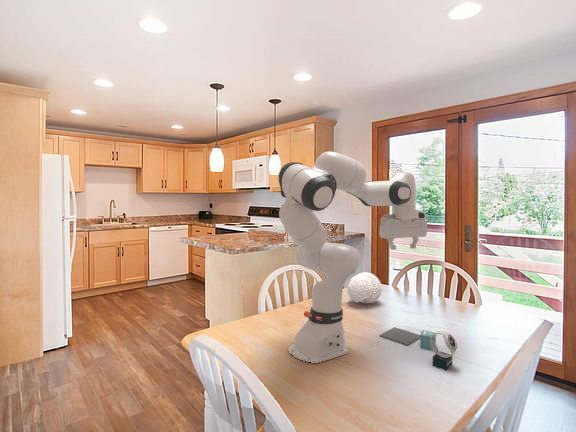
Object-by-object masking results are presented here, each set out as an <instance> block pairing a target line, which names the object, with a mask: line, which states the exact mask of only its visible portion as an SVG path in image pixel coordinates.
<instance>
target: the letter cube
mask: <svg viewBox="0 0 576 432" xmlns="http://www.w3.org/2000/svg"><path fill="white" fill-rule="evenodd" d="M434 333H436V332H434V331H428V330H421V332H420V334H419V335H420V339H419V347H420V349H423V350H429V351H433V349H432V347H431V344H430V338H431V336H432V335H433V334H434ZM436 339H437V334H435V335H434V340H435V343H437V342H436V341H437V340H436Z"/></svg>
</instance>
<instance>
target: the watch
mask: <svg viewBox="0 0 576 432" xmlns="http://www.w3.org/2000/svg"><path fill="white" fill-rule="evenodd" d="M435 334H436V335H442V337H443V339H444V342H445V346H446V348H447V349H448V350H449V351H450V353H451V354H449V353H446V352H443V351H440V349H439V347H438V345H437V344H436V343H437V342H436V343H435V340H434V335H435ZM430 344H431V347H432V349H433V350H432V351H433V352H434V353H435V354H434V355H433V356H432V366H433V367H435V368H438V369H440V368H442V369H441V370H443V369H444V371H447V370H448V369H449V368H450V367H452V366H453V357H454V354H455V353H456V351H457V349H458V345H457V341H456V339H455V338H454V336H453V335H452V334H450V333H448V332H446V331H444V330H443V331H442V330H441V331H436V332H435V333H434V334H433V335H432V336H431V338H430Z"/></svg>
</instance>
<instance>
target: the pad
mask: <svg viewBox="0 0 576 432" xmlns="http://www.w3.org/2000/svg"><path fill="white" fill-rule="evenodd" d="M420 335H421V334H417V333H414V332H411V331H408V330H405V329H401V328H398V327H392V328H390V329H388V330H386V331H384V332H382V333H381V334H379V335H378V337H381V338H383V339H387V340H389V341H392V342H395V343H398V344H401V345H403V346H407V347H408V346H410V345H411V344H413V343H415V342H416V341H418V340H420Z"/></svg>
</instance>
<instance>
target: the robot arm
mask: <svg viewBox="0 0 576 432" xmlns="http://www.w3.org/2000/svg"><path fill="white" fill-rule="evenodd" d="M393 174H394V175H393V177H392V178H391V179H388V180H378V181H377V180H376V181H372V180H371V181H368V180H367V170H366V168H365V166H364V165H363V164H362V162H360V161H359V160H357V159H355V158H352V157H351V156H348V155H345V154H342V153H339V152H334V151H329V150H328V151H324V152H322V153H321V154H320V155H319V156H318V157H317V158H316V160H315V162H314V165H313V166H311V167H309V166H307V165H305V164H304V163H301V162H298V161H291V162H287V163H286V164H284V165H283V166H282V167H281V168H280V170H279V172H278V184H279V187H280V194H281V196H282V197H283V198H285V202H283V204H282V205H281V207H280V208H279V210H278V211H279V212H278V217H279V220H280V222H281V224H282V225H283V228H284V229H285V231H286V233H287V234H288V235H289V237H291V239H292V240H293V241H294V243H295V244H296V245H297V246H298V247H297V249H296V253H295V259H296V262H297V264H298V265H299V266H301V267H302V268H306V269H308V270H311V271H316V272H322V273H324V276H323V280H320V281H318V282H317V283H315V284H314V285H313V286H312V289H311V308H310V311H307V310H306V311H305V310H304V312H303V316H304V317H305V318H308V319H307V321H306V322H305V323H304V324H303V326H301V328H300V329H299V331H298V332H296V335H295V339H294V343H293V344H292V345H291V346H289V347H288V349H287V351H289V352H288V354H290V355H291V354H292V355H293V356H292V355H291V356H292V357H294V358H296V359H298V360H300V361H302V360H303V361H302V362H305V361H306V362H305V363H308V362H311V363H310V364H314V363H316V364H318V363H319V362H320V363H323V362H326V361H328V360H332V359H335V358H338V357H341V356H344V355H347V354H348V353H349V352H348V349H347V345H346V339H345V338H346V337H345V336H346V335H345V328H344V325H343V318H344V317H343V316H344V311H343V308H342V307H343V306H342V305H343V290H344V287H345V283H346V282H347V280H348V279H349V278H350V277H352V275H354V274H355V273H356V272H357V271H358V270H359V268H360V266H361V261H362V260H361V259H362V258H361V253H360V252H359V250H358V248H356V247H354V246H352V245H348V244H345V243H336V242H329V241H327V238H328V233H327V232H328V231H327V229H326V228H325V226H324V224H323V223H322V222H321V221H320V219H319V218H318V216H317V215H316V213H315V212H314V211H316V212H320V211H323V210H325V209H327V207H329V206H330V204H332V201H333V200H334V198H335V195H336V191H337V189H338V190H339V191H343V192H345V193H347V194H350V195H351V196H353V197H355V198H357V199H358V201H360V202H361V203H362V204H363V205H364V206H366V207H391V214H383V216H381V217H380V224H379V225H380V226H379V233H378V234H379V235H378V236H379V237H380V238H381V239H387V242H388V245H389V249H390V250H392V251H395V250H397V249H396V248H397V245H395V244H394V241H395V239H403V238H405V239H406V238H408V239H410V238H411V239H412V242H411V243H410V244H409V248H410V249H411V250H412V249H413V250H415V249H416V248H417V244H418V242H419V240H420V239H419V238H424V237H426V236H427V234H428V223H427V220H426V219H427V216H428V215H427V213H426V212H424V211H421V210H418V209H416V203H415V202H416V201H415V199H416V196H417V185H416V179H415V175H414V174H413V173H410V172H401V171H400V172H396V173H393ZM366 180H367V181H366ZM322 361H323V362H322Z"/></svg>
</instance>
